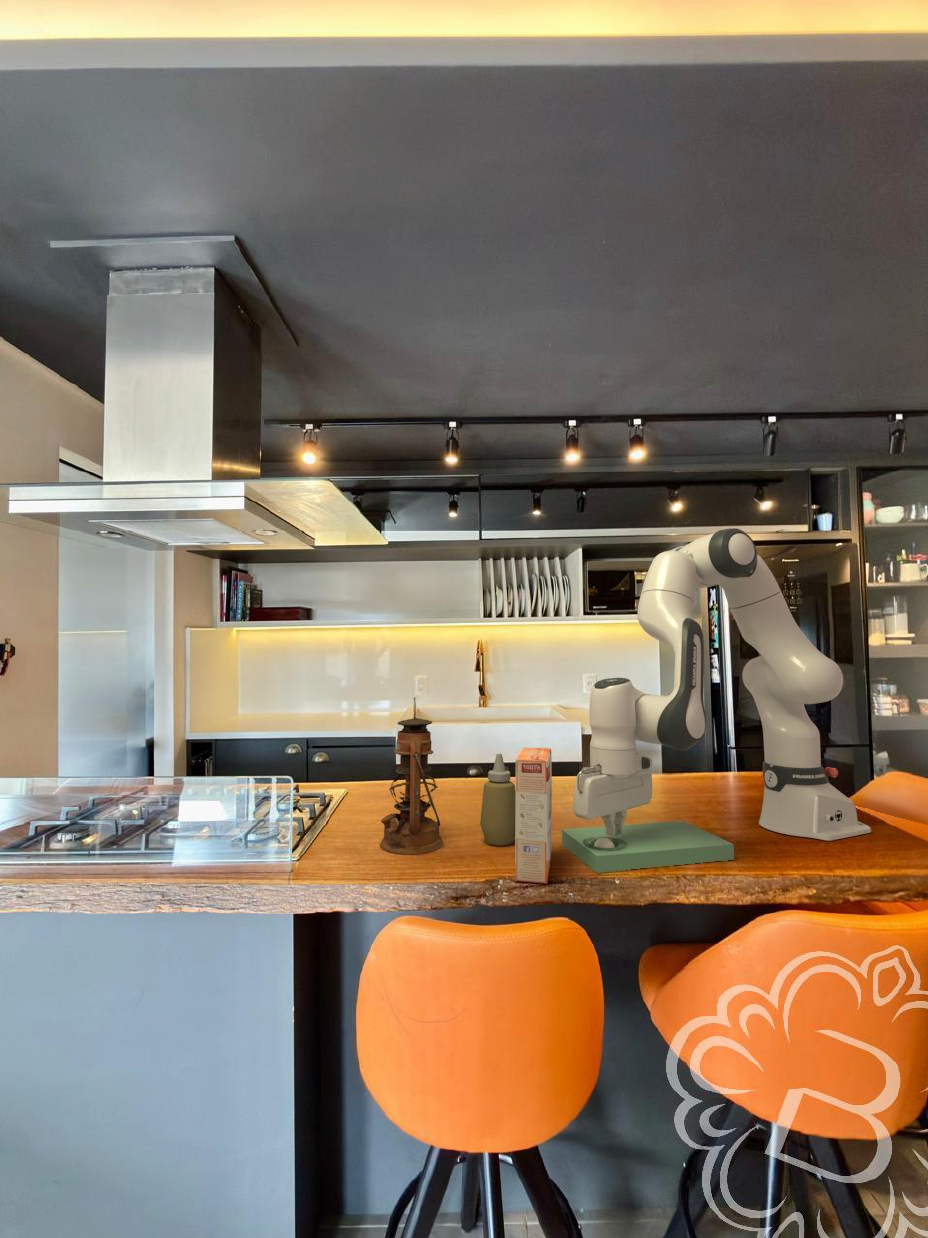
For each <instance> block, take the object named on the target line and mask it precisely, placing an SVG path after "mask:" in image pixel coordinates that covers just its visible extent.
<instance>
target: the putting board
mask: <svg viewBox="0 0 928 1238" xmlns="http://www.w3.org/2000/svg"><path fill="white" fill-rule="evenodd" d="M600 838H607V839H609V840H611V841H612V842H613V844H614V846H615V848H600V847H596V846H594V844H595V842H596V841H597V840H598V839H600ZM561 845H562V846H563V847H564V848H566V849H567V850H568V851H569V852H571V853H572V854H573V855H574V856H575V855H576V856H575V857H577V856H578V857H579V858H580V859H581V860H580V859H579V858H578V857H577V858H578V859H579V860H580V861H581V862H582V863H584V864H585V865H586V864H587V865H586V866H588V867H589V868H590V869H591V870H592V871H594V872H595V873H596V874H604V873H605V872H606V873H614V872H615V873H616V871H617V872H624V871H625V870H627V871H632V870H631V869H638V870H641V869H640V868H647V867H658V866H670V867H672V866H671V865H681V866H685V865H684V864H691V865H696V864H695V863H702V864H704V863H703V862H713V863H715V862H714V861H723V862H729V861H728V860H734V861H735V846H734V845H735V844H733V842H729V841H727V840H726V839H723V838H721V837H719V836H717V835H715V834H712V833H711V832H708V831H706V830H704V829H702V828H700V827H697V826H696V825H693V824H692V823H689V822H687V821H685V820H675V821H673V820H672V821H660V822H645V823H634V824H633V823H632V824H623V833H622V834H619V835H616V836H609V835H607V834H606V825H605V826H593V827H592V826H589V827H579V828H578V827H577V828H565V829H563V828H562V829H561ZM606 873H605V874H606Z"/></svg>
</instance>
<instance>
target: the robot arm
mask: <svg viewBox="0 0 928 1238" xmlns="http://www.w3.org/2000/svg"><path fill="white" fill-rule="evenodd" d="M651 561H652V562H651V564H650V566H649V568H648V571H647V573H646V576H645V578H644V582H643V585H642V588H641V592H640V597H639V601H638V606H637V620H638V623H639V626H640V627H641V628H642V630H643V631H644V632H645V633H646V634H648V635H649V636H650V637H652V638H654V639H656V640H658V641H659V642H662V643H664V644H666V645H669V646H670V647H671V648H672V649H673V652H674V677H673V679H674V680H673V689H672V692H671V693H670V694H669V695H658V694H650V693H649V694H648V693H646V692H643V691H641V690H640V689H637V688H636V687H635V686H634V685H633V683H632V681H631V679H629V678H626V677H610V678H609V677H608V678H604V679H600V680H598V681H596V682H595V683H594V684H593V686H592V689H591V692H590V697H589V726H590V729H591V730H590V731H591V739H590V743H589V762H590V763H589V764H590V765H589V766H585V767H582V768H581V770H580V771H579V772H578V774H577V775H576V780H575V784H574V790H573V791H574V792H573V804H572V805H573V808H572V810H573V813H574V815H575V816H576V817H577V818H580V819H584V820H589V821H590V820H594V819H597V818H601V819H602V820H603V823H604V825H605V826H606V834H607V835H609V836H616V835H619V834H622V833H623V825H625V821H626V817H627V816H628V813H627V811H628V810H630V809H635V808H638V807H642V806H646V805H649V804H650V802H652V801H651V800H652V798H653V775H652V772H651V769H652V768H653V759H652V758H651V757H650V756H647V755H644V754H641V753H638V752H637V751H638V750H637V749H638V748H637V742H636V741H638V742H643V743H647V744H653V745H654V744H655V745H660V746H665V747H668V748H671V749H675V750H678V751H679V750H680V751H687V750H689V749H691V748H692V747H694V746H696V745H697V744H698V743H699V742H700V741H701V739H702V738H703V737H704V735H705V733H706V730H707V717H706V710H705V704H704V703H705V701H704V684H705V681H704V680H705V679H704V678H705V676H704V675H705V670H704V669H705V642H704V632H703V629H702V626H701V625H700V623H698V622H697V621H696V620H695V618H694V616H695V615H694V606H695V600H696V594H697V591H698V590H700V589H705V588H710V587H714V586H717V585H718V586H719V587H721V588H722V589H723V592H724V596H725V597H726V598H725V599H726V601H727V603H728V606H729V609H730V611H731V613H732V615H733V618H734V620H735V622H736V625H737V628H738V629H739V632H740V634H741V637H742V638H743V640H744V641H745V642H746V643H747V644H749V645H750V646H752V647H753V648H754V649H755V650H756V651H757V652H758V653H759V655H760V656H757V657H753V658H751V659H750V660H749V661H747V662H746V664H745V665H744V667H743V669H742V673H741V674H742V682H743V684H744V687H745V688H746V689H747V690H748V691H749V692H750V694H751V696H752V698H753V700H754V703H755V706H756V708H757V711H758V715H759V718H760V721H761V726H762V735H763V751H764V753H763V754H764V760H763V762H762V777H763V782H764V790H763V798H762V799H763V801H762V808H761V811H760V812H761V813H760V817H759V820H758V825H759V826H761V827H763V828H764V829H767V830H769V831H772V832H776V833H779V834H782V835H783V834H785V835H789V836H795V837H803V838H810V839H811V838H812V839H816V840H817V839H818V840H822V841H827V842H828V841H829V842H830V841H836V840H840V839H845V838H849V837H851V838H852V837H855V836H859V835H864V834H865V835H866V834H869V833H872V828H871V827H870V826H869V825H867V824H866V823H863V822H861V821H858V813H857V808H856V805H855V804H854V802H853V801H852V800H851V799H850V798H849V797H847V795H845V794H844V793H842V792H841V791H840V790H838V789H837V788H836V787H835V786H833V785H832V784H831V783H830V780H829V778H828V777H832V778H837V777H838V776H839V770H838V768H835V767H830V766H826V767H823V765H822V759H821V735H820V730H819V729H818V727H817V726H816V724H814V722H813V721H812V720H811V718H810V717H809V715H808V712H807V710H806V707H805V705H813V704H820V703H822V704H823V703H826V702H829V701H831V700H832V701H833V700H834V699H835V698H836V697H837V696H838V695H839V694H840V692H841V691H842V689H843V686H844V675H843V672H842V670H841V668H840V665H838V664H837V663H836V662H835V661H834V660H832V659H831V658H829V657H827V656H826V655H825V654H823V653H822V652H821V651H820V650H818V648H817V647H816V646H815V645H814V644H813V643H812V642H811V640H810V639H809V638H808V637H807V635H806V634H805V633H804V632H803V631H802V630H801V628H800V626H799V625H798V623H797V622H796V620H795V618H794V617H793V615H792V613H791V611H790V608H789V605H788V604H787V602H786V599H785V597H784V595H783V593H782V590H781V588H780V586H779V583H778V582H777V580H776V578H775V576H774V574H773V572H772V571H771V569H770V568H769V567H768V564H767V563H766V562H765V560H764V559H763V558H762V556H760V555H759V554H758V550H757V546H756V544H755V542H754V540H753V539H752V538H751V536H750V535H749V534H748V533H746V532H745V531H743V530H742V529H740V528H731V527H730V528H725V529H720V530H717V531H716V532H714V533H709V534H707V535H703V536H701V537H698V538H696V539H695V540H693V541H691V542H690V543H688V544H685V545H684V546H680V547H678V548H676V549H675V550H665V551H663V552H661V553H659V554H657V555H656V556H655V557H654V558H653V560H651Z"/></svg>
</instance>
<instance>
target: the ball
mask: <svg viewBox="0 0 928 1238" xmlns="http://www.w3.org/2000/svg"><path fill="white" fill-rule="evenodd" d="M594 846H596V847H600V848H615V846H614V844H613V842H612V841H611V840H609V839H607V838H600V839H598V840H597V841H596V842H595V844H594Z"/></svg>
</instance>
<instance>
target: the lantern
mask: <svg viewBox="0 0 928 1238" xmlns="http://www.w3.org/2000/svg"><path fill="white" fill-rule="evenodd" d="M413 701H414V708H413V718H409V719H404V720H400V721H397V724H396V725H399V726H402V728H401V730H398V731H397V739H396V745H395V746H396V748H395V750H393V753H394V754H396V755H398V756H400V757H399V758H400V759H399V761H400V762H399V763H400V764H399V765H397V767H396V769H395V772H396V773H398V774H399V775H398V776H396V777H395V778H394V780H392V782H391V784H390V787H389V789H388V791H389V792H390V794H391V796H392V798H393V800H394V801H395V804H394V805H393V808H394V809H395V810H397V811H399V813H398V812H394V813H390V814H387V815H386V816H384V817H383V818H382V819H380V822H381V824H383V825H384V827H383V838H382V840H381V841H380V843H379V847H380V849H381V850H383V851H385V852H387V853H390V854H396V855H414V856H415V855H421V854H428V853H432V852H434V851H437V850H439V849H440V848H442V847H443V845H444V841H443V839H442V837H441V836H440V826H441V821H440V818H439V815H438V812H437V809H436V806H435V803H434V801H433V797H432V794H431V793H433V792H434V791H436V789H438V786H437V784H436V780H435V778H434V777H433V776H431V775H430V774H428V773H430V772H431V771H432V767H431V765H429V755H432V754H434V750H432V739H431V735H432V734H431V731H429V730H428V728H427V726H429V725H431V724H433V721H432V720H429V719H424V718H418V717H417V715H416V713H417V711H416V710H417V703H416V697H413ZM425 777H426V778H428V779H430V780H432V782H428V781H427V780H426V778H425ZM404 778H405V781H404V782H402V783H397V782H398V781H399V779H400V781H401V780H402V779H404ZM421 780H422V781H421ZM395 783H397V784H395ZM394 784H395V785H394ZM421 784H422V785H424V787H425V791H426V794H422V795H421V788H422V787H421V786H422V785H421ZM428 785H429V786H431V787H433V788H431V789H430V788H429V786H428ZM402 786H404V789H405V790H404V792H402V791H399V794H400V795H402V796H397V795H396V792H395V788H398V787H402ZM427 796H428V799H429V800H428V801H424V799H425V797H426V798H427ZM395 798H399V799H400V800H402V801H398V800H397V799H395ZM430 808H432V809H433V812H434V815H435V817H436V820H437V821H436V820H434V819H432V818H430V817H427V816H426V815H425V814H426V813H427V812H428V809H430Z"/></svg>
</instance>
